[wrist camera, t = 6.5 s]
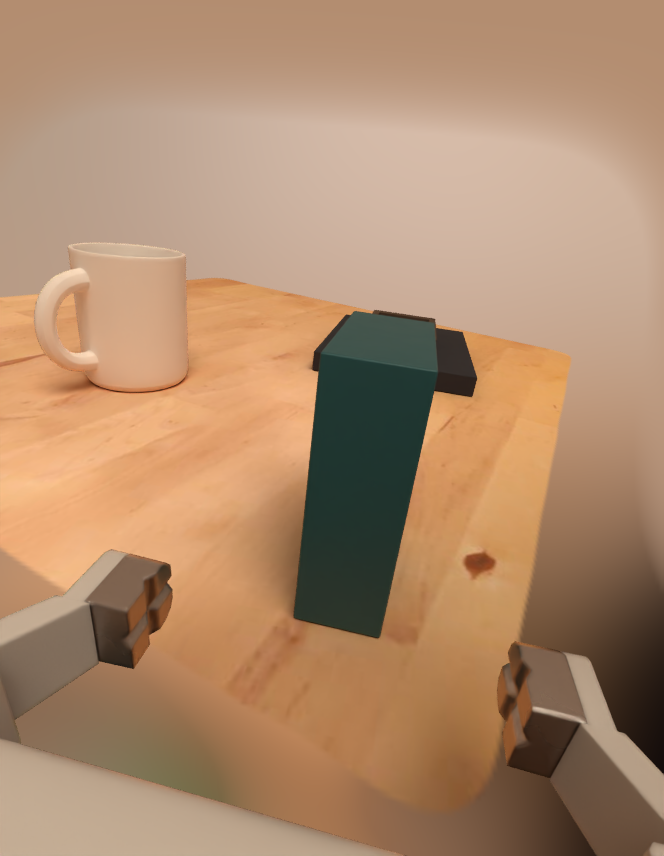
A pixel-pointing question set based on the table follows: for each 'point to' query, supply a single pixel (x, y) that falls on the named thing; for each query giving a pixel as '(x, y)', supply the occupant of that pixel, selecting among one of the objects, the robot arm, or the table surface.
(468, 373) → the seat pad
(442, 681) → the table surface
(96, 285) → the mug
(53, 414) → the table surface
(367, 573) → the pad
